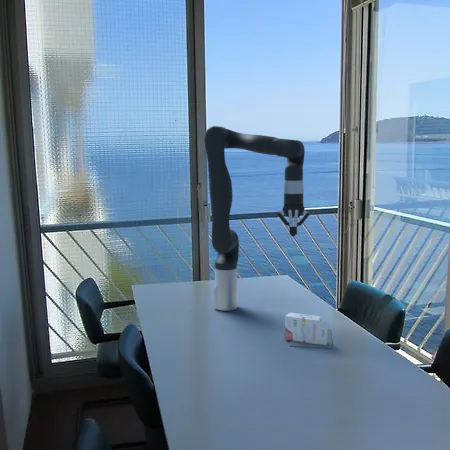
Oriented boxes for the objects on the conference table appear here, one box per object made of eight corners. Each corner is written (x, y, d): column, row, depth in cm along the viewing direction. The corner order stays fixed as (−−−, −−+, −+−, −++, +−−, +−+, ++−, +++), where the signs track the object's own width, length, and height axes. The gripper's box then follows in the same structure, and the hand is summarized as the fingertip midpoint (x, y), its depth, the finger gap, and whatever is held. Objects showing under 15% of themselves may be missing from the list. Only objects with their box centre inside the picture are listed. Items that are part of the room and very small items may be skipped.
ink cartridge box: (288, 334, 178) (330, 341, 172) (284, 339, 174) (326, 346, 167) (289, 311, 177) (330, 317, 171) (285, 315, 172) (327, 322, 166)
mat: (289, 346, 168) (289, 345, 168) (292, 328, 185) (292, 328, 185) (332, 348, 166) (332, 347, 166) (330, 330, 182) (330, 329, 182)
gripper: (275, 192, 191) (275, 237, 194) (310, 192, 189) (310, 238, 192) (277, 191, 199) (277, 234, 201) (311, 191, 196) (310, 234, 199)
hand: (293, 236), depth 196 cm, fingers closed
